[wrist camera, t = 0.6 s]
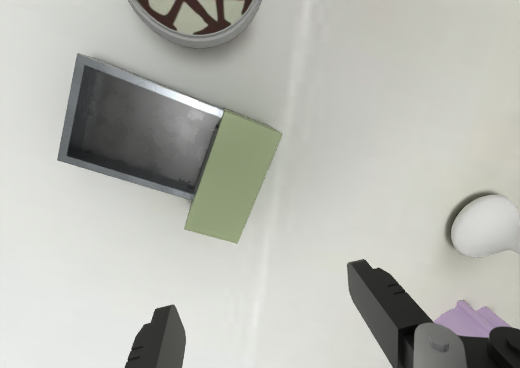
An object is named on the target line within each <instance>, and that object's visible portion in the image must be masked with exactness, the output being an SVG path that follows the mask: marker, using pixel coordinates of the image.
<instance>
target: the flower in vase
mask: <svg viewBox="0 0 520 368" xmlns="http://www.w3.org/2000/svg"><path fill="white" fill-rule="evenodd" d="M451 239H452V242H453V245H454V247H455V249H456V250H457V251H458V252H459V253H461V254H463V255H466V256H469V257H485V256H490V255H493V254H496V253H499V252H502V251H505V250H511V251H514V252H517V253H519V254H520V217H519V213H518V210H517V208H516V206H515V204H514V203H513V202H512V201H510V200H509V199H508V198H507V197H505V196H502V195H488V196H483V197H480V198H477V199H475V200H474V201H472V202H470V203H469V204H468V205H466V206H465V207H464V208H463V209H462V210H461V211H460V213H459V214H458V215H457V217H456V219H455V221H454V223H453V226H452V230H451Z"/></svg>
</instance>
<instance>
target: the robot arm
mask: <svg viewBox="0 0 520 368" xmlns="http://www.w3.org/2000/svg"><path fill="white" fill-rule="evenodd" d="M347 271H348V284H349V292H350V295H351V298H352V300H353V302H354V304H355V306H356V307H357V309H358V311H359V312H360V314H361V316H362V317H363V319H364V320H365V322H366V324H367V325H368V327H369V329H370V330H371V332H372V334H373V335H374V337H375V339H376V340H377V342H378V343H379V345H380V347H381V348H382V350H383V352H384V353H385V355H386V357H387V358H388V360H389V362H390V363H391V365H392V367H393V368H520V330H519V329H516V328H512V327H505V326H501V327H496V328H494V329H492V330H491V331H490V333H489V338H486V337H470V336H460V335H457V334H455V333H454V332H453V331H452V330H450V329H449V328H447V327H445V326H443V325H440V324H436V323H434V322H433V321H432V320H431V319H430V318H429V317H428V316H427V314H426V313H425V312H424V311H423V310H422V309H421V308H420V307H419V306H418V304H417V303H416V302H415V301H414V300H413V299H412V298H411V297H410V296H409V294H408V293H407V292H405V290H404V289H403V288H402V287H401V286H400V285H399V284H398V282H397V281H396V280H395V279H394V278H393V277H392V276H391V274H389V273H387V272H386V271H384V270H382V269H380V268H376V269H373V268H372V267H371V266H370V265H369V264H368V262H367V261H366V260H364V259H362V260H358V261H353V262H349V263H348V264H347ZM185 344H186V336H185V330H184V327H183V324H182V322H181V319H180V317H179V314H178V312H177V309H176V307H175V305H169V306H165V307H161V308H157V309H155V311H154V314H153V317H152V320H151V323H148V324H144V326H143V327H142V329H141V330H140V331H139V333H138V334H137V335H136V337H135V340H134V343H133V346H132V348H131V349H132V351H130V354H129V357H128V362H127V363H126V365H125V368H182V365H183V358H184V351H185Z"/></svg>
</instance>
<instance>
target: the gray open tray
mask: <svg viewBox="0 0 520 368" xmlns="http://www.w3.org/2000/svg"><path fill="white" fill-rule="evenodd" d="M223 112H224V110H223V109H221V108H218V107H216V106H213V105H211V104H208V103H206V102H203V101H201V100H198V99H196V98H193V97H191V96H188V95H186V94H183V93H181V92H178V91H175V90H173V89H170V88H168V87H165V86H163V85H160V84H158V83H155V82H153V81H150V80H148V79H145V78H143V77H140V76H138V75H135V74H133V73H130V72H128V71H125V70H123V69H120V68H118V67H115V66H113V65H110V64H108V63H105V62H103V61H100V60H98V59H95V58H92V57H89V56H85V55H82V54H79V53H77V58H76V63H75V69H74V74H73V79H72V84H71V90H70V95H69V100H68V106H67V111H66V116H65V122H64V127H63V132H62V138H61V143H60V148H59V153H58V159H57V160H58V161H62V162H65V163H68V164H72V165H75V166H78V167H82V168H85V169H88V170H92V171H95V172H98V173H102V174H105V175H108V176H112V177H115V178H118V179H122V180H125V181H129V182H132V183H135V184H139V185H142V186H145V187H149V188H152V189H155V190H159V191H162V192H165V193H169V194H172V195H175V196H179V197H182V198H185V199H189V200H192V201H193V199H194V196H195V195H193V193H194V189H195V185H196V182H197V179H198V176H199V173H200V170H201V167H202V165H203V162H204V159H205V156H206V153H207V150H208V147H209V144H210V141H211V138H212V135H213V132H214V129H215V127H216V124H218V125H219V122H220V119H221V118H222V115H223Z"/></svg>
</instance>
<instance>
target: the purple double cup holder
mask: <svg viewBox="0 0 520 368" xmlns="http://www.w3.org/2000/svg"><path fill="white" fill-rule="evenodd" d="M434 323H436V324H440V325H443V326H445V327H447V328H449V329H450V330H452V331H453V332H454V333H455V334H457V335H460V336H470V337H486V338H489V333H490V331H491V330H492V329H494V328H496V327H501V326H505V327H511V326H510V325H509V324H507V323H506V322H505V321H503V320H502V319H501V318H500V317H498V316H497V315H496V314H495V313H493V312H492V311H491V310H490V309H488V308H487V307H483V308H481V309H479V310H477V311H475V310H474V309H473V308H472V307H470V306H469V305H468V304H467V303H466V302H465V301H463V300H460V301H458V302H457V307H456V308H455V309H452V310H450V311H448V312H446V313H444V314H442V315H441V316H440V317H438V318H437V319H436V320H435V321H434Z"/></svg>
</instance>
